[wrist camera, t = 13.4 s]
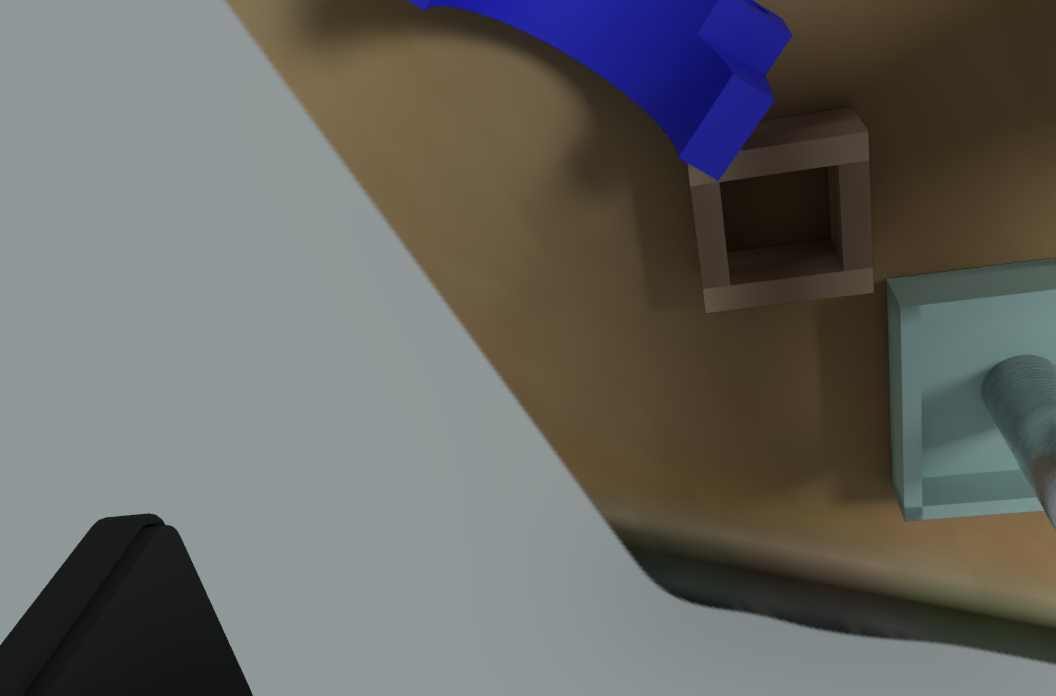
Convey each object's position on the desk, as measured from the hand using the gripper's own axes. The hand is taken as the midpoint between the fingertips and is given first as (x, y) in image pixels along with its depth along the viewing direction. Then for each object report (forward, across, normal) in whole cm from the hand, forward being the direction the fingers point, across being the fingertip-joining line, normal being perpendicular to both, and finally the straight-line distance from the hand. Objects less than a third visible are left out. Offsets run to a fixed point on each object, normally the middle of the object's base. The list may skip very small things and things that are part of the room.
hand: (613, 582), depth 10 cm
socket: (+28, -4, +7) cm, 29 cm away
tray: (+28, -13, +16) cm, 35 cm away
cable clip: (+29, +1, -2) cm, 29 cm away
